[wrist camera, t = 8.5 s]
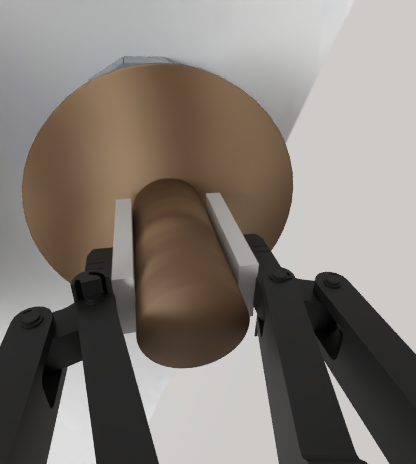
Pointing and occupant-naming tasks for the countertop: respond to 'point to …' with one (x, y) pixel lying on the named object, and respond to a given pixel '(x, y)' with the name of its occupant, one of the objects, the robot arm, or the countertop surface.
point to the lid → (161, 196)
